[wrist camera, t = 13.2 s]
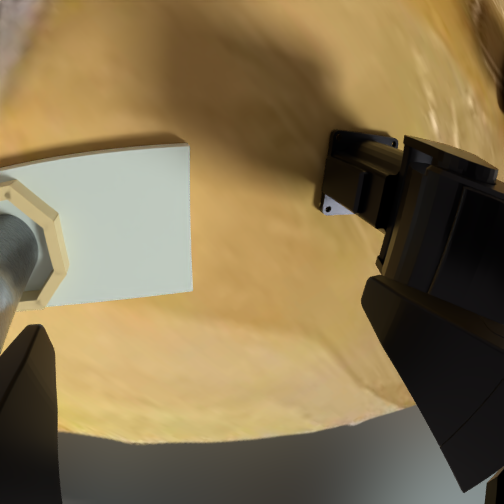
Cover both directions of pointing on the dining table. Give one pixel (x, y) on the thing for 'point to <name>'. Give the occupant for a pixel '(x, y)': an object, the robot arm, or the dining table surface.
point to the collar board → (104, 223)
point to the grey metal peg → (14, 266)
